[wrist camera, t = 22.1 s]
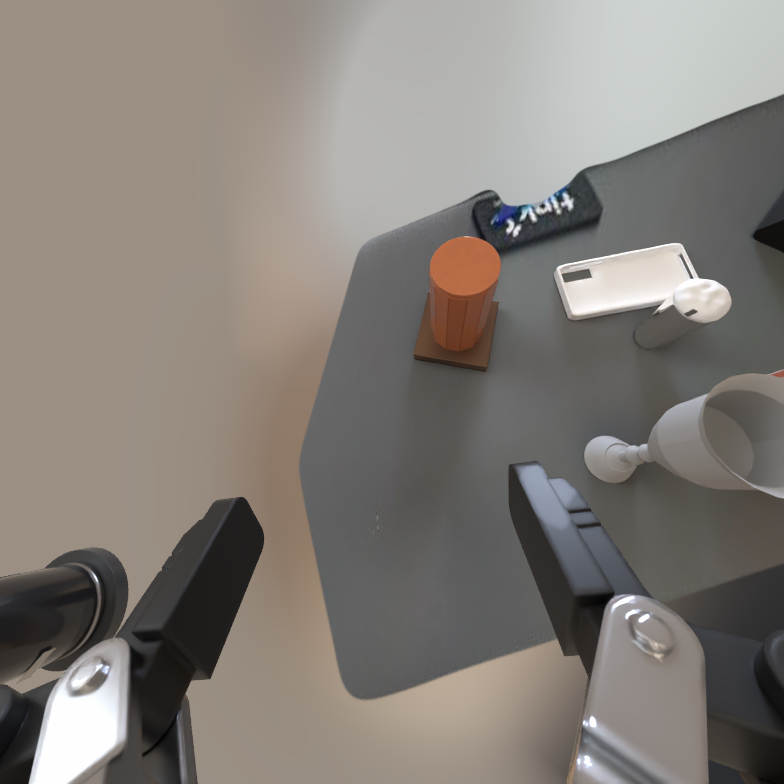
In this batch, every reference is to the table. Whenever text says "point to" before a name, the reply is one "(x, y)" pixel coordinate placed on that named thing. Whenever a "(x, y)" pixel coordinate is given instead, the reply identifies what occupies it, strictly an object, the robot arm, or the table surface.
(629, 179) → the table surface
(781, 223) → the device stand
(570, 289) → the phone case
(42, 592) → the robot arm
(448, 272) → the cup
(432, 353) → the stand
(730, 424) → the chalice
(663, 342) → the milkshake
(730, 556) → the table surface
